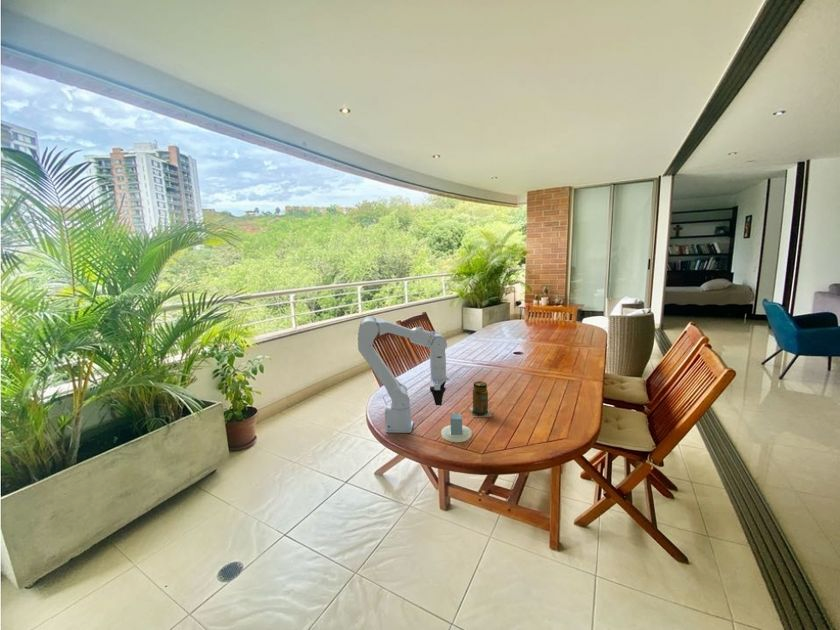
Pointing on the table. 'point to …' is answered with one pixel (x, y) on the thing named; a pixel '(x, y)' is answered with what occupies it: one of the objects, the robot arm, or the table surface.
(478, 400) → the condiment
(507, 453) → the table surface
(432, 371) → the robot arm
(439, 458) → the table surface
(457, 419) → the block
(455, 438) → the dish
